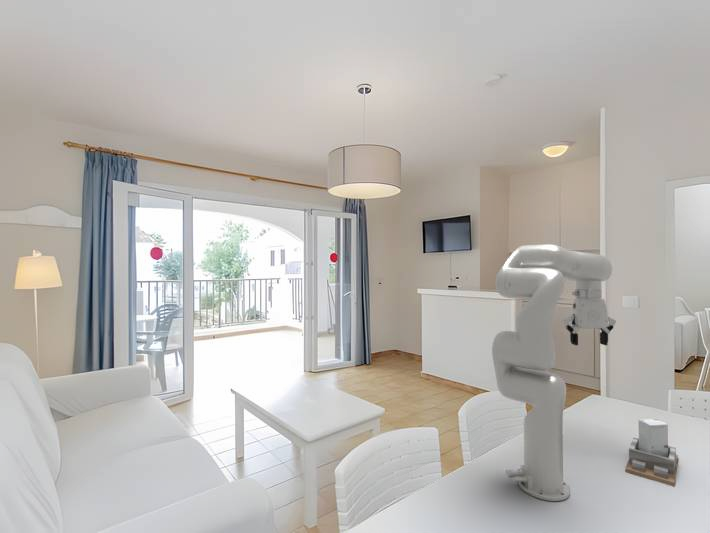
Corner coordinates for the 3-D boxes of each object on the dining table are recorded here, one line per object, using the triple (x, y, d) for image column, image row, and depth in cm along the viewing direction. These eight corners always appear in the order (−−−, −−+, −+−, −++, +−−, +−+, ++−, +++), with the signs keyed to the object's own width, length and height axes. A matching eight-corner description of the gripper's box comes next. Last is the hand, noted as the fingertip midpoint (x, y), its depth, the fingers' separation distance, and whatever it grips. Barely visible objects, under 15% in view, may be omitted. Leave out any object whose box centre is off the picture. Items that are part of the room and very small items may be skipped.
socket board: (674, 486, 103) (674, 468, 103) (625, 471, 110) (625, 454, 110) (678, 458, 118) (678, 442, 118) (634, 447, 125) (634, 432, 125)
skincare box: (650, 466, 111) (650, 425, 111) (637, 458, 116) (637, 419, 116) (669, 465, 112) (669, 424, 112) (656, 457, 116) (655, 418, 116)
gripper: (568, 295, 126) (568, 346, 126) (621, 295, 125) (622, 347, 125) (557, 294, 134) (557, 342, 134) (607, 293, 133) (608, 342, 133)
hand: (589, 344), depth 130 cm, fingers open, 9 cm apart
